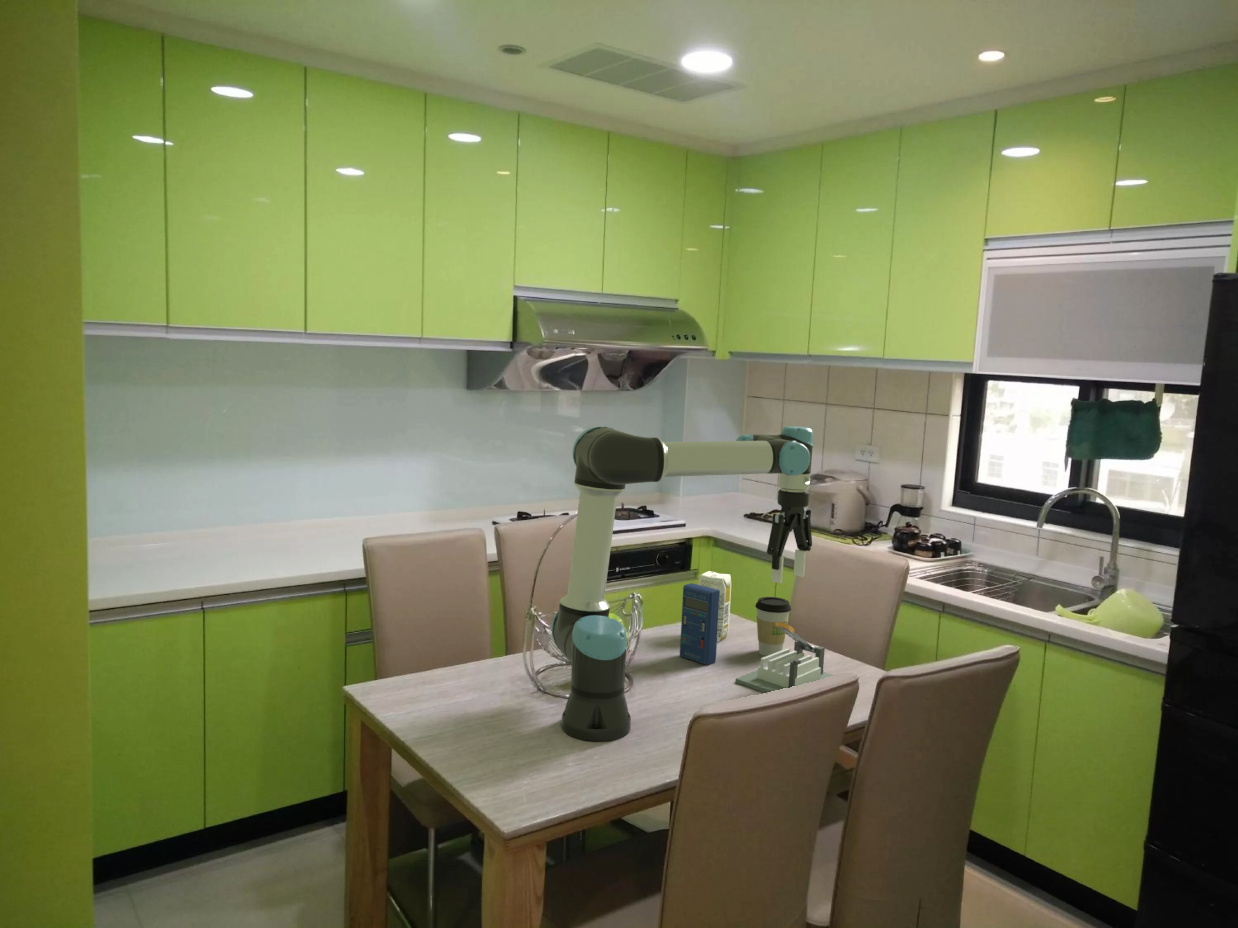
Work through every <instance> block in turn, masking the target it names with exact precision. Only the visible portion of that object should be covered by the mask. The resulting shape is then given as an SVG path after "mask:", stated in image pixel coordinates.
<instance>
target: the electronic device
mask: <svg viewBox="0 0 1238 928" xmlns="http://www.w3.org/2000/svg"><path fill="white" fill-rule="evenodd" d="M719 596H720V591H719V590H717V589H713V588H709V587H705V586H701V585H698V583H697V584H696V583H693V582H691V583H687V584H684V585H683V587H682V606H681V607H682V608H681V621H680V622H681V623H680V624H681V625H680V645H679V657H682V658H684V659H688V660H691V661H694V662H697V663H700V664H703V665H707V666H709V665H711V664H715V663H716V660H717V647H718V646H717V644H718V642H717V625H718V607H719Z"/></svg>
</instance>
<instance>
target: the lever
mask: <svg viewBox="0 0 1238 928" xmlns="http://www.w3.org/2000/svg"><path fill="white" fill-rule="evenodd" d="M775 626H776V627H778V628H779V629H781V630H782V631H783V632H784V633H786V635H787V637H790V639H792V640H793V641H794V642H795V641H796V642H797V643H798V644H800V645H801V649H802V650H803V651H806V652H809V653H812V654H816V648H817V647H818V646H813V645H810V644H809V643H808V642H807V641H806V640H804V639H803V638H802V637H801V636H799V635H798V634H797V633H796V632H795V631H796V629H795V628H794V627H792V626H791V625H790V624H783V623H780V622H776V623H775Z"/></svg>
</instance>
